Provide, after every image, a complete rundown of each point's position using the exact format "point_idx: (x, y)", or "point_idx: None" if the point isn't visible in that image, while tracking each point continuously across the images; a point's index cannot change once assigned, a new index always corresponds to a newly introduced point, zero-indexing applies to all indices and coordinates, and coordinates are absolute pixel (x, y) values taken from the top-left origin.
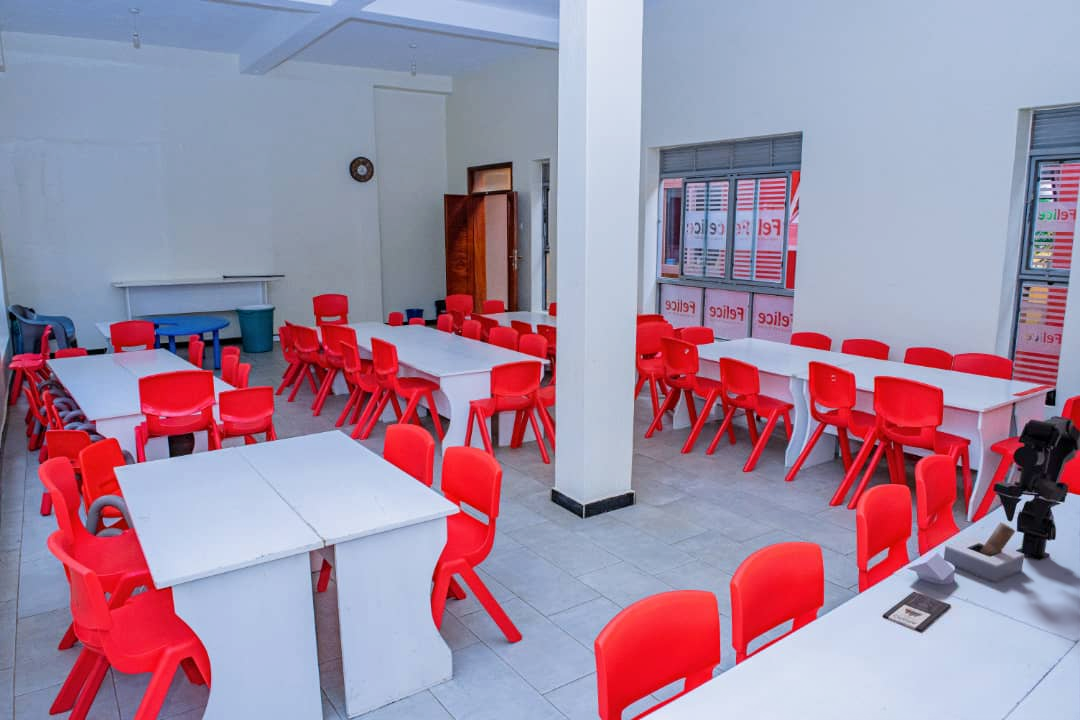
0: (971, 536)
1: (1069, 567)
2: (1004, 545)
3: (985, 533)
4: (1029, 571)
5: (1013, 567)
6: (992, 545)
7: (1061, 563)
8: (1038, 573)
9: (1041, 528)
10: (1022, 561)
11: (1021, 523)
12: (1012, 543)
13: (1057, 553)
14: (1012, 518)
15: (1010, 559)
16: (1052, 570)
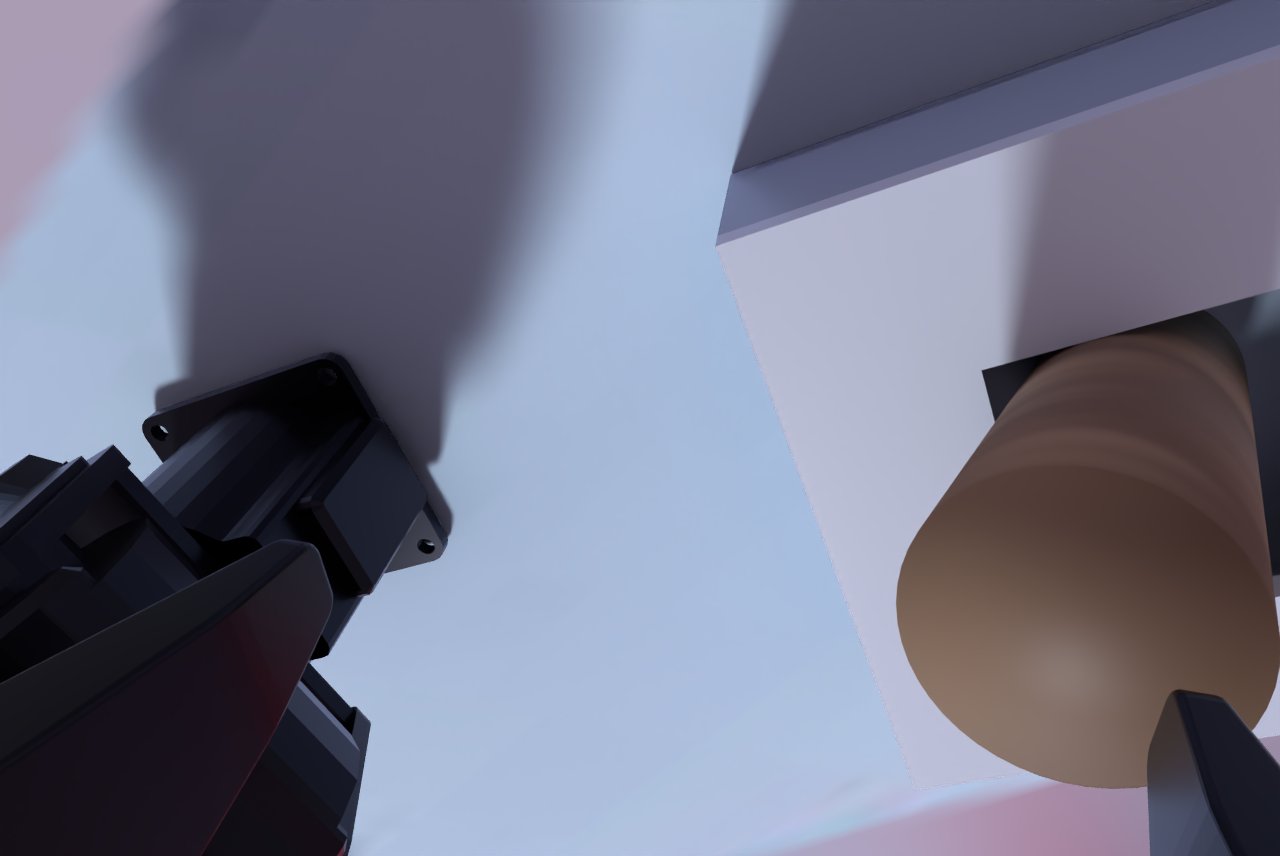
0: (966, 777)
1: (91, 156)
2: (1085, 371)
3: (451, 846)
4: (639, 149)
5: (974, 114)
6: (1251, 435)
7: (125, 256)
8: (568, 81)
9: (151, 583)
10: (738, 207)
11: (346, 773)
12: (344, 677)
13: (39, 445)
14: (1222, 760)
15: (1139, 110)
16: (337, 123)
